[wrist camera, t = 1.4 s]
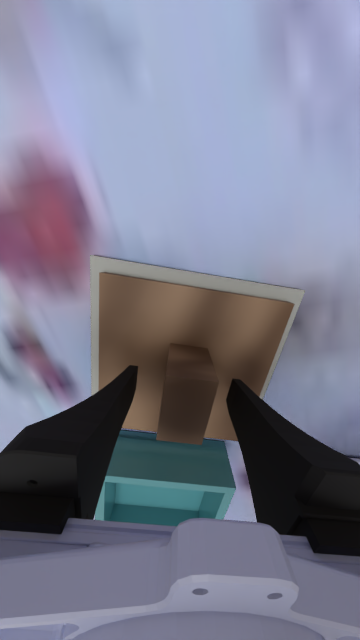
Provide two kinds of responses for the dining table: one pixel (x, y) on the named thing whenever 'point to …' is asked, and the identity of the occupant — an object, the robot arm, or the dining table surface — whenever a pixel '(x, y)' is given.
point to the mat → (181, 278)
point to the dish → (165, 481)
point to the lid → (185, 351)
